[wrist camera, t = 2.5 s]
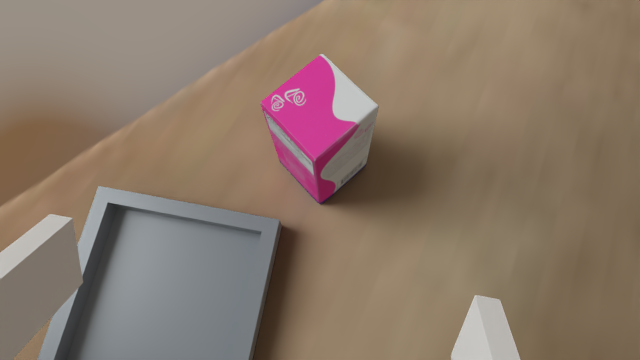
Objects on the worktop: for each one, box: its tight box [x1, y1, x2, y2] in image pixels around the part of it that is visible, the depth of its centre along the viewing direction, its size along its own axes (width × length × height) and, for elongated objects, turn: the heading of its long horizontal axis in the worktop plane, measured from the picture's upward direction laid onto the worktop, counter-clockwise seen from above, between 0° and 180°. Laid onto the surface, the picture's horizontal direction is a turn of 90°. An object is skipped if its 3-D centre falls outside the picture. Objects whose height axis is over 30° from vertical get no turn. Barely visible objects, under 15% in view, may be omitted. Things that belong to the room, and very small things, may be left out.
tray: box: [37, 186, 282, 360], centre depth 34 cm, size 15×15×2 cm
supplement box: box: [261, 54, 379, 204], centre depth 34 cm, size 6×6×12 cm
